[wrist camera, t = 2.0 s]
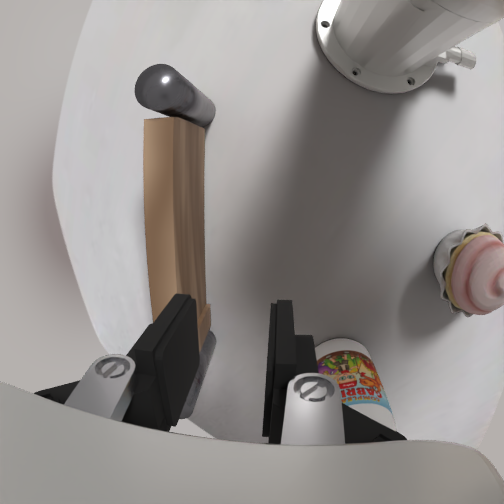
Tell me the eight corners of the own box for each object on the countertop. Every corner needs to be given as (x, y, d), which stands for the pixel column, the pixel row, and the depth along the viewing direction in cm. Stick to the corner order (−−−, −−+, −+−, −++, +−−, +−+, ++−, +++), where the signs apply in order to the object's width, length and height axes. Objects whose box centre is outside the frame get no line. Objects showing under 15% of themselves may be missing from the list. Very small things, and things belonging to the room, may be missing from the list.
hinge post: (215, 96, 27) (181, 61, 16) (214, 126, 27) (178, 107, 17) (184, 97, 27) (136, 67, 16) (183, 127, 28) (133, 111, 17)
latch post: (215, 329, 33) (190, 396, 23) (216, 352, 34) (194, 421, 23) (188, 326, 33) (155, 390, 23) (190, 349, 34) (160, 415, 24)
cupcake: (449, 197, 27) (507, 214, 18) (498, 243, 28) (552, 271, 18) (402, 273, 30) (445, 317, 20) (456, 311, 30) (500, 356, 21)
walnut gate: (209, 128, 27) (176, 113, 18) (210, 325, 32) (187, 381, 23) (183, 129, 27) (141, 116, 18) (188, 323, 32) (159, 377, 23)
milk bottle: (376, 375, 33) (424, 516, 14) (315, 397, 35) (329, 545, 16) (359, 325, 32) (420, 480, 12) (292, 351, 33) (297, 516, 14)
